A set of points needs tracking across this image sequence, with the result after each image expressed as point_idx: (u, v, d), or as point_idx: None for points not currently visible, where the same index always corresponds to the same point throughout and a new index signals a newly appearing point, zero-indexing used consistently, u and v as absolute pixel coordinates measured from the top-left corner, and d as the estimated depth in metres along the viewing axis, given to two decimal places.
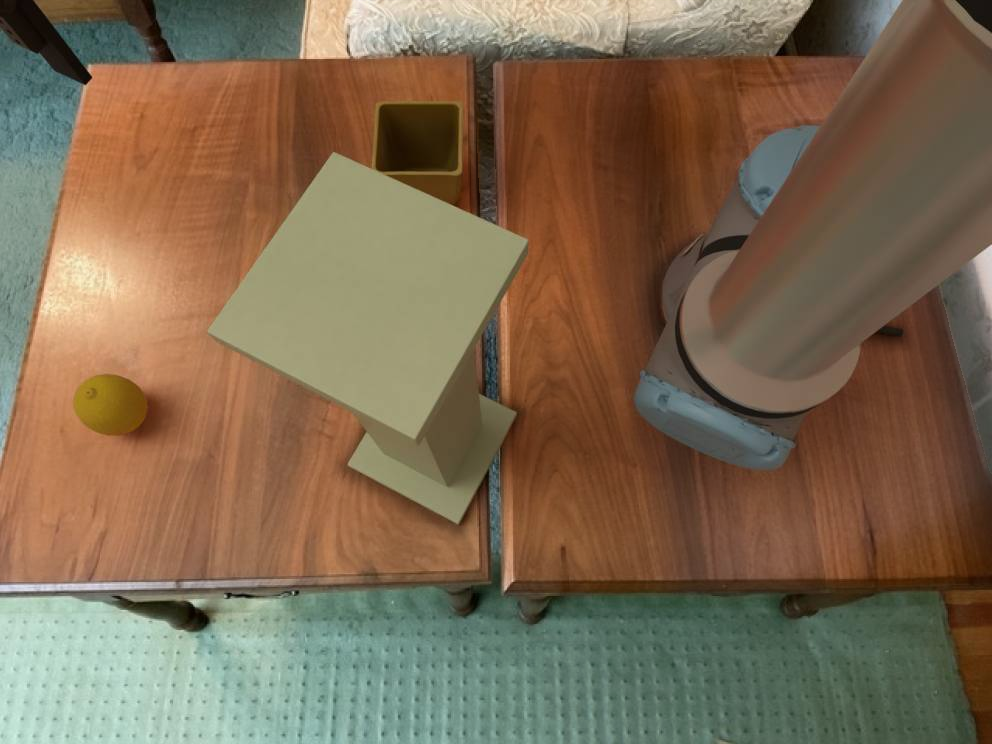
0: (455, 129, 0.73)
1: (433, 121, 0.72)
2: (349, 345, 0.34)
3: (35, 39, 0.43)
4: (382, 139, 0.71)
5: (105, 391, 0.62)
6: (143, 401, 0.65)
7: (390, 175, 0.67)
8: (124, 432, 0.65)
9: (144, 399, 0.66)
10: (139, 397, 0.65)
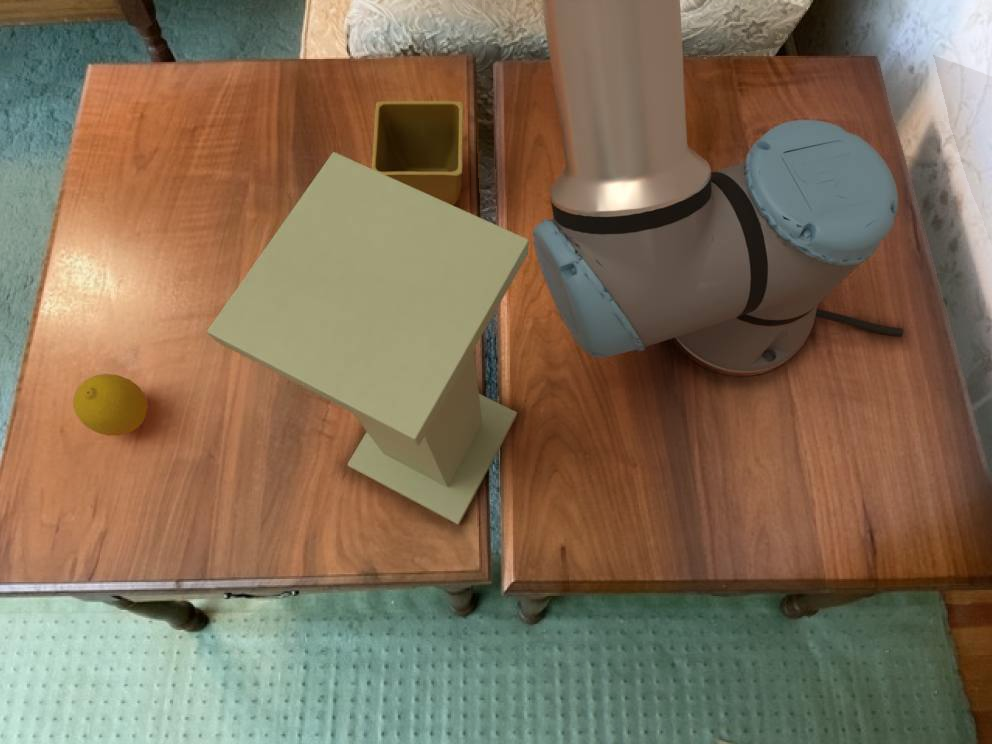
0: (455, 129, 0.73)
1: (433, 121, 0.72)
2: (349, 345, 0.34)
3: None
4: (382, 139, 0.71)
5: (105, 391, 0.62)
6: (143, 401, 0.65)
7: (390, 175, 0.67)
8: (124, 432, 0.65)
9: (144, 399, 0.66)
10: (139, 397, 0.65)
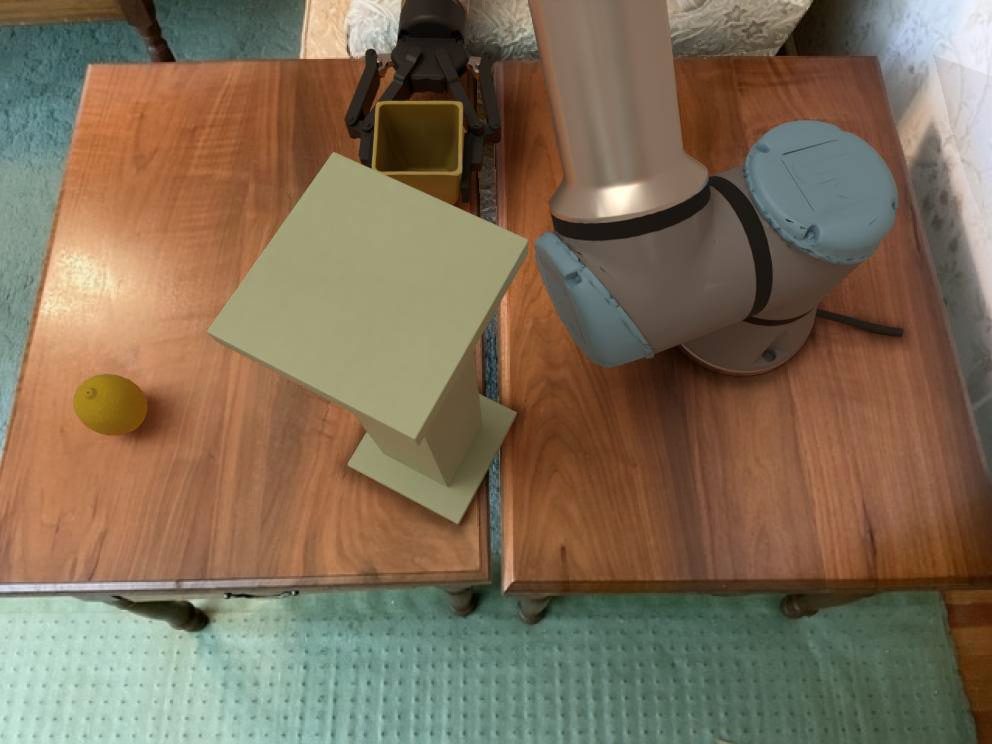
0: (455, 129, 0.73)
1: (433, 121, 0.72)
2: (349, 345, 0.34)
3: (365, 153, 0.70)
4: (382, 139, 0.71)
5: (105, 391, 0.62)
6: (143, 401, 0.65)
7: (390, 175, 0.67)
8: (124, 432, 0.65)
9: (144, 399, 0.66)
10: (139, 397, 0.65)
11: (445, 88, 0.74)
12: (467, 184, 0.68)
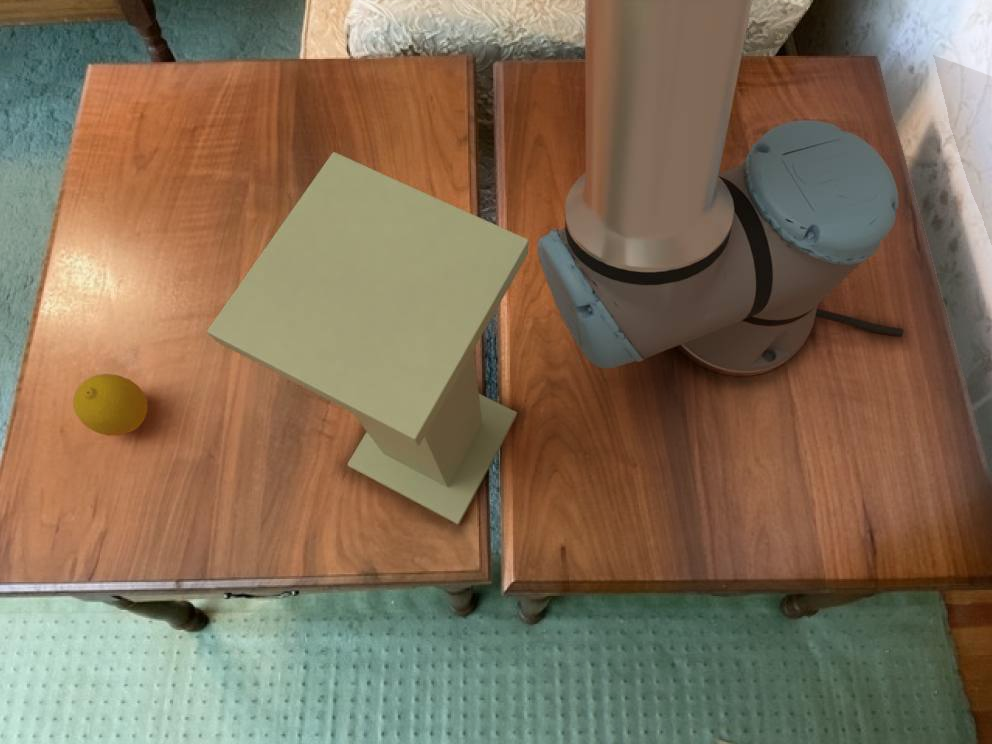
0: None
1: None
2: (349, 345, 0.34)
3: None
4: None
5: (105, 391, 0.62)
6: (143, 401, 0.65)
7: None
8: (124, 432, 0.65)
9: (144, 399, 0.66)
10: (139, 397, 0.65)
11: None
12: None
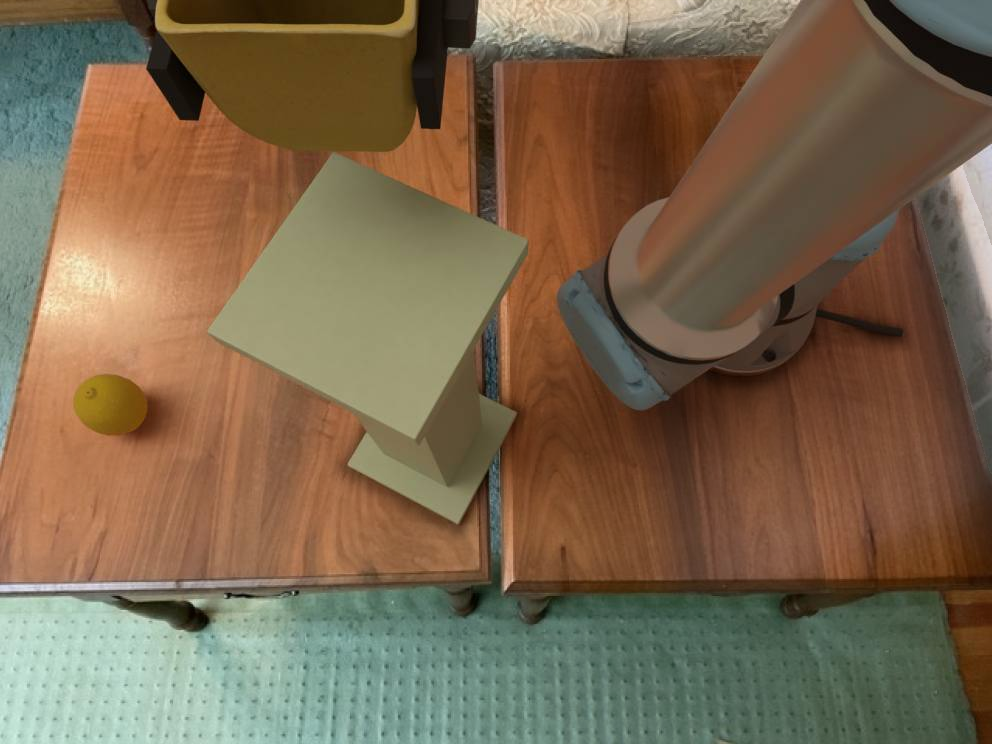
0: None
1: None
2: (349, 345, 0.34)
3: None
4: None
5: (105, 391, 0.62)
6: (143, 401, 0.65)
7: (208, 36, 0.23)
8: (124, 432, 0.65)
9: (144, 399, 0.66)
10: (139, 397, 0.65)
11: None
12: (432, 69, 0.24)
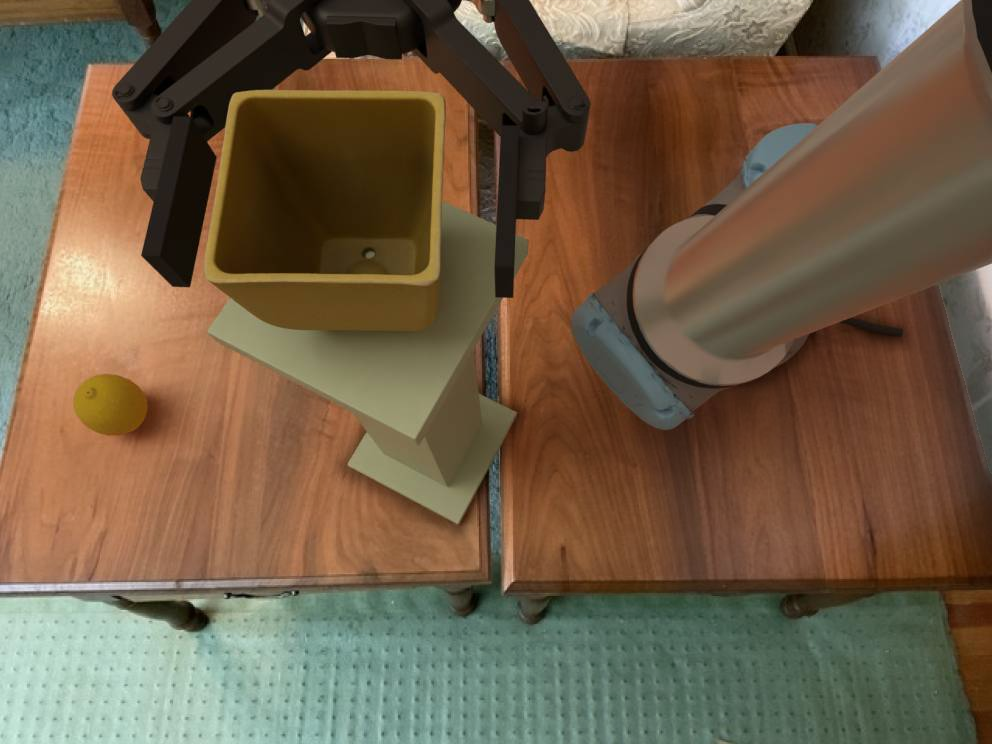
0: (429, 158, 0.31)
1: (376, 139, 0.30)
2: (349, 345, 0.34)
3: (158, 174, 0.29)
4: (250, 183, 0.29)
5: (105, 391, 0.62)
6: (143, 401, 0.65)
7: (252, 284, 0.26)
8: (124, 432, 0.65)
9: (144, 399, 0.66)
10: (139, 397, 0.65)
11: (420, 44, 0.32)
12: (512, 258, 0.27)
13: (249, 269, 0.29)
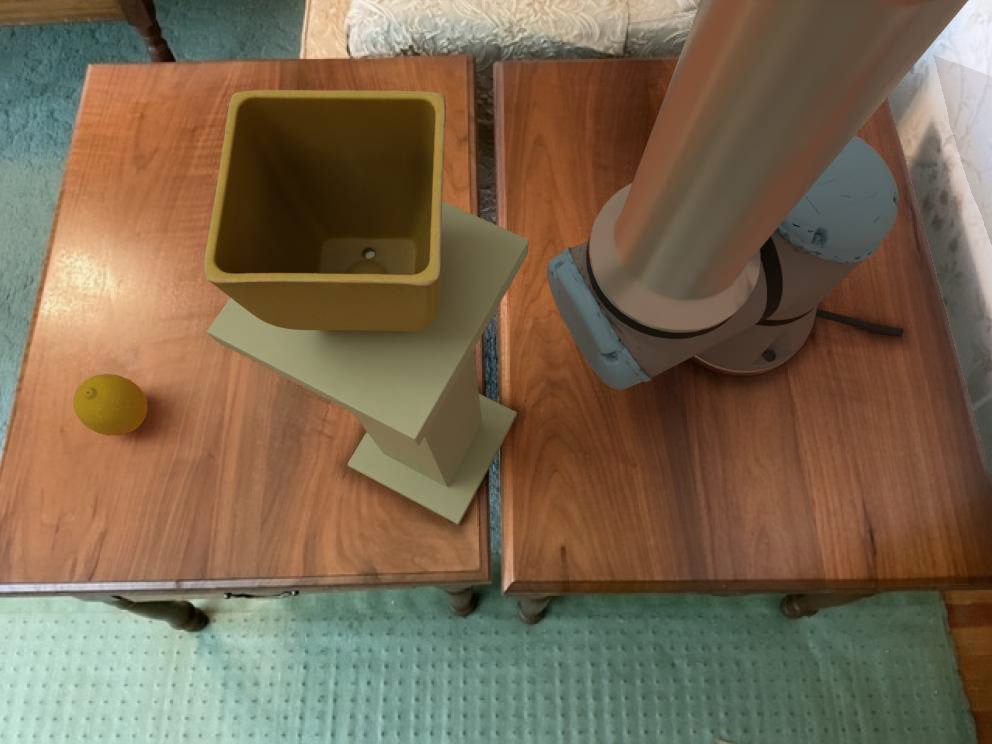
0: (429, 158, 0.31)
1: (376, 139, 0.30)
2: (349, 345, 0.34)
3: None
4: (250, 183, 0.29)
5: (105, 391, 0.62)
6: (143, 401, 0.65)
7: (252, 283, 0.26)
8: (124, 432, 0.65)
9: (144, 399, 0.66)
10: (139, 397, 0.65)
11: None
12: None
13: (249, 268, 0.29)
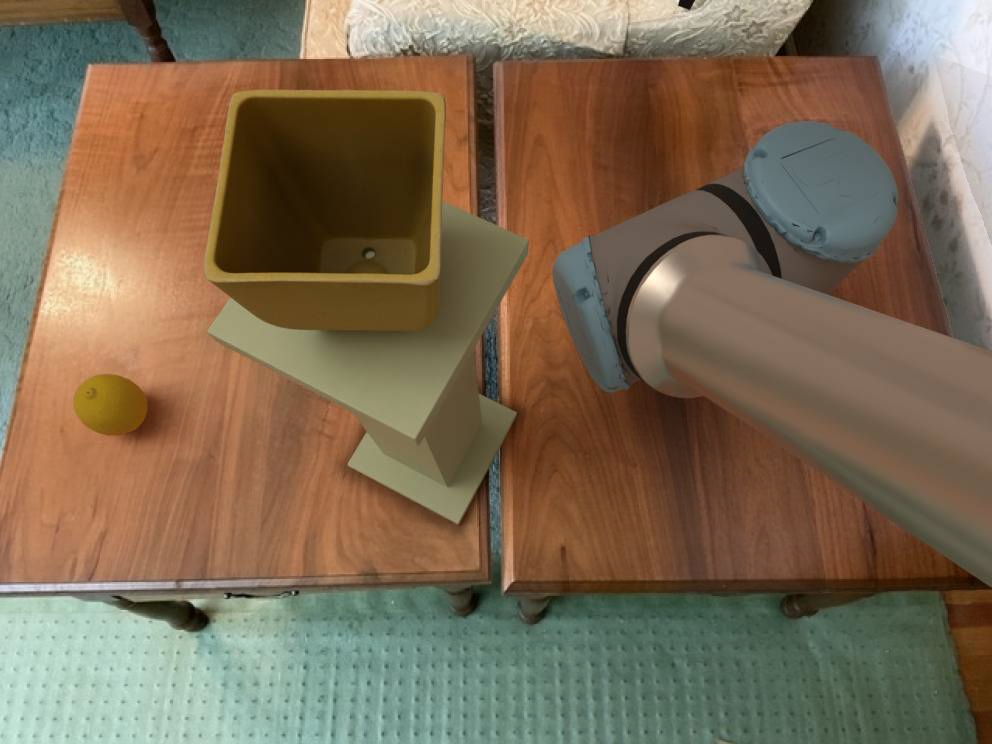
0: (429, 157, 0.31)
1: (376, 139, 0.30)
2: (349, 345, 0.34)
3: None
4: (250, 182, 0.29)
5: (105, 391, 0.62)
6: (143, 401, 0.65)
7: (252, 283, 0.26)
8: (124, 432, 0.65)
9: (144, 399, 0.66)
10: (139, 397, 0.65)
11: None
12: (690, 3, 0.40)
13: (249, 268, 0.29)
